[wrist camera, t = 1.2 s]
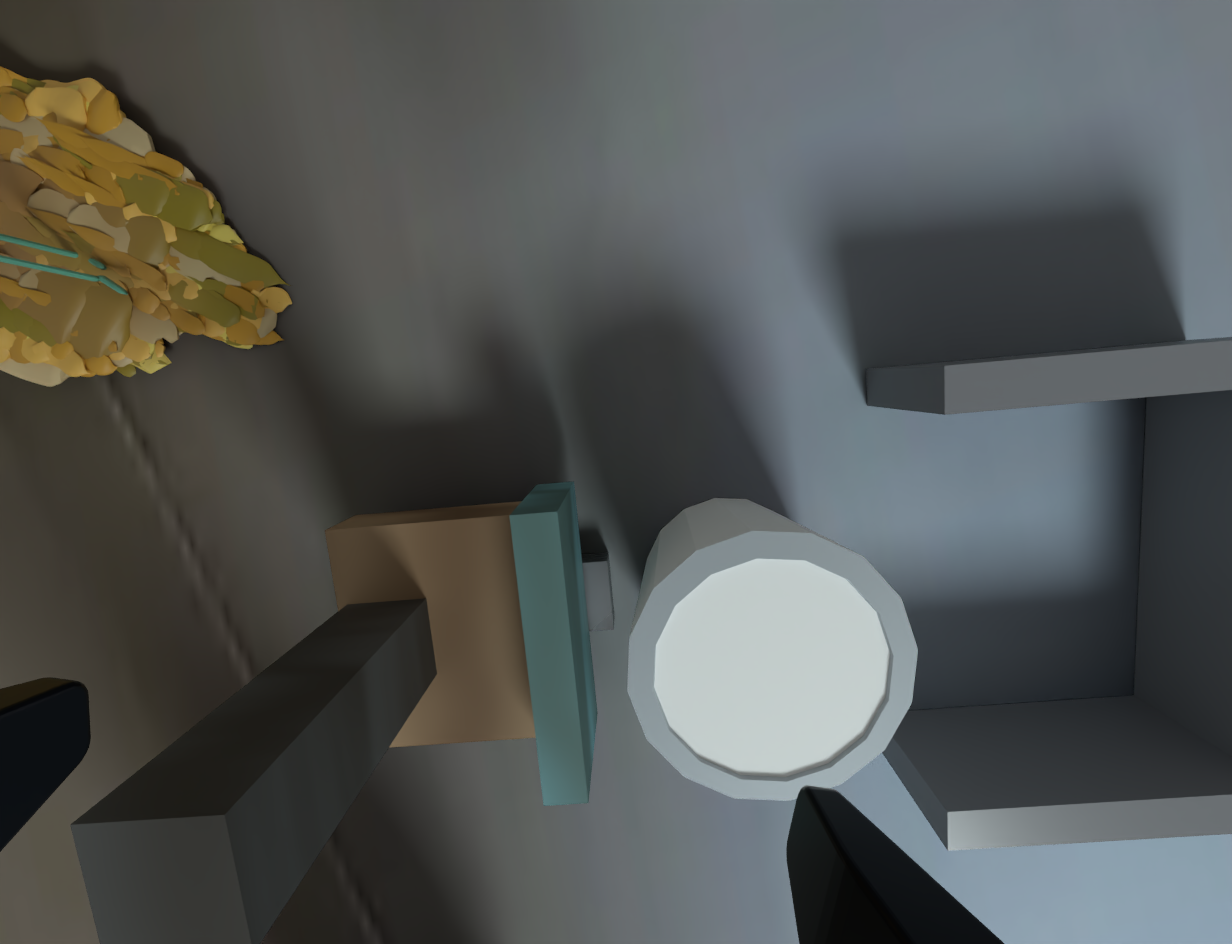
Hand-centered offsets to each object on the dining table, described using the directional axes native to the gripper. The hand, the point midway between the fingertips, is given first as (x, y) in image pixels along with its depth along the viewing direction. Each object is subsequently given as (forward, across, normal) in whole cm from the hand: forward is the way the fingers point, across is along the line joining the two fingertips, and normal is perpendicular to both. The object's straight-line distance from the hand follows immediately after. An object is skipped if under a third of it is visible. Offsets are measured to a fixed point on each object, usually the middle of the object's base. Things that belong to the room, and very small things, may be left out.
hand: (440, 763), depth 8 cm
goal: (+14, -15, 0) cm, 20 cm away
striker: (+12, +2, +4) cm, 13 cm away
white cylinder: (+14, -6, +2) cm, 15 cm away
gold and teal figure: (+14, +18, -7) cm, 24 cm away
